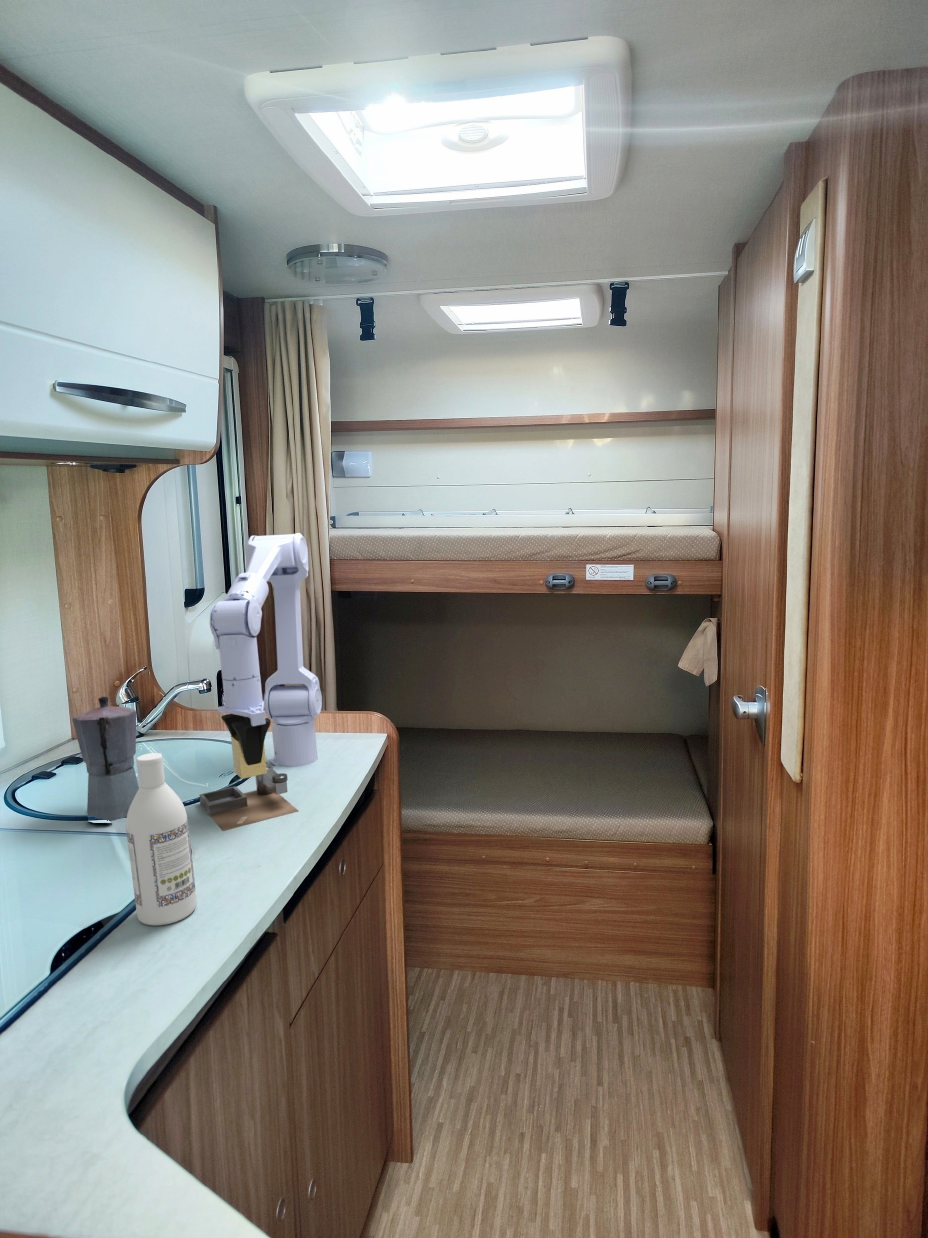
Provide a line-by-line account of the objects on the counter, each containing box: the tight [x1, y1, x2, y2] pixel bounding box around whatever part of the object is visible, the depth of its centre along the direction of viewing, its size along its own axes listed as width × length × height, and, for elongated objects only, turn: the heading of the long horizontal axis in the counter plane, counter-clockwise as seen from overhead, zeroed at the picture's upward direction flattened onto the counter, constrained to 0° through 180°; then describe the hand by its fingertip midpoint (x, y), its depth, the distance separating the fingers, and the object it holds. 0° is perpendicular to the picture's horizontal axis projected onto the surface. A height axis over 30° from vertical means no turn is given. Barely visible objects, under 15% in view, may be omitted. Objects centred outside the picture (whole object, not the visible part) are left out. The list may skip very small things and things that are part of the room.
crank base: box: [199, 785, 299, 832], centre depth 128 cm, size 14×12×3 cm
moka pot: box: [72, 696, 140, 822], centre depth 128 cm, size 10×15×20 cm, turn 26°
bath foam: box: [125, 752, 198, 926], centre depth 96 cm, size 7×7×20 cm
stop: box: [230, 735, 267, 779], centre depth 125 cm, size 4×4×6 cm
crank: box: [254, 763, 289, 795], centre depth 131 cm, size 11×3×5 cm, turn 32°
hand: (249, 760), depth 125 cm, fingers closed on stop, 4 cm apart
